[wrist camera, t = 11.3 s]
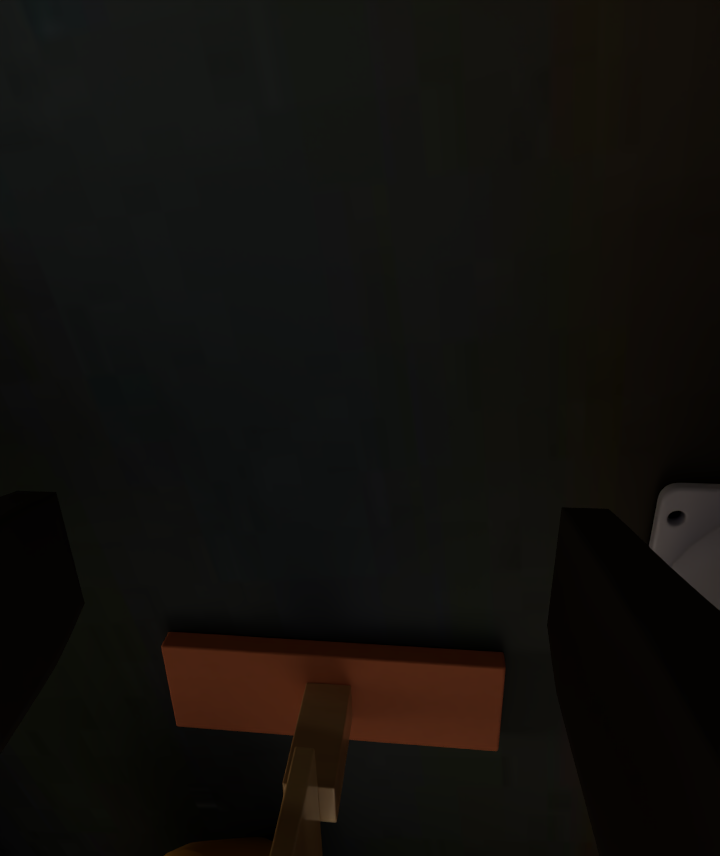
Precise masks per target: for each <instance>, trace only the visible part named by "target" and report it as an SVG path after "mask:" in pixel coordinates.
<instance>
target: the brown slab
mask: <svg viewBox="0 0 720 856" xmlns="http://www.w3.org/2000/svg"><path fill="white" fill-rule="evenodd" d="M351 724H352V696H351V686H349V685H335V684H320V683H306V686H305V691H304V695H303V699H302V703H301V707H300V712H299V716H298V720H297V724H296V728H295V733H294V737H293V741H292V745H291V749H290V754H289V758H288V762H287V766H286V770H285V775H284V779H283V783H282V784H283V793H284V796H283V800H282V804H281V808H280V813H279V817H278V821H277V826H276V830H275V834H274V839H273V843H272V847H271V851H270V856H323V853H322V840H321V826H320V821H324V822H337V817H338V811H339V804H340V797H341V791H342V784H343V777H344V771H345V764H346V757H347V751H348V744H349V737H350V731H351Z"/></svg>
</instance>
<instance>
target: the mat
mask: <svg viewBox="0 0 720 856" xmlns="http://www.w3.org/2000/svg"><path fill="white" fill-rule="evenodd" d="M161 648H162V653H163V658H164V663H165V668H166V673H167V679H168V684H169V689H170V694H171V699H172V704H173V710H174V715H175V720H176V725H177V726H180V727H193V728H205V729H218V730H231V731H244V732H257V733H270V734H283V735H294V733H295V728H296V724H297V720H298V716H299V712H300V707H301V703H302V699H303V695H304V691H305V686H306V683H320V684H335V685H349V686H351V696H352V724H351V731H350V737H349V740H360V741H373V742H386V743H399V744H411V745H424V746H437V747H450V748H463V749H476V750H489V751H497V750H498V747H499V736H500V725H501V714H502V703H503V691H504V680H505V669H506V668H505V659H504V653H503V652H493V651H477V650H461V649H445V648H428V647H412V646H396V645H380V644H364V643H347V642H331V641H315V640H299V639H283V638H266V637H250V636H234V635H218V634H202V633H185V632H168V634H167V636H166V638H165V640H164V642H163V644H162V646H161Z"/></svg>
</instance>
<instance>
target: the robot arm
mask: <svg viewBox="0 0 720 856" xmlns="http://www.w3.org/2000/svg"><path fill="white" fill-rule="evenodd" d="M673 511H682V512H681V514H680V516H678V517H676V518H672V519H670V518H667V517H668V515H669V514H670V513H672V512H673ZM83 606H84V599H83V596H82V592H81V588H80V584H79V580H78V576H77V572H76V568H75V564H74V560H73V557H72V553H71V549H70V545H69V541H68V537H67V533H66V529H65V525H64V522H63V518H62V514H61V510H60V506H59V502H58V498H57V494H56V492H28V491H16V492H13V493H10V494H7V495H5V496H2V497H0V754H1V752H2V750H3V749H4V747H5V746H6V744H7V743H8V741H9V740H10V738H11V736H12V735H13V733H14V732H15V730H16V729H17V727H18V726H19V724H20V722H21V721H22V719H23V718H24V716H25V715H26V713H27V711H28V710H29V708H30V707H31V705H32V703H33V702H34V700H35V699H36V697H37V695H38V694H39V692H40V691H41V689H42V688H43V686H44V684H45V683H46V681H47V680H48V678H49V676H50V675H51V673H52V671H53V670H54V668H55V666H56V665H57V663H58V660H59V658H60V656H61V654H62V652H63V650H64V648H65V646H66V644H67V642H68V640H69V638H70V636H71V633H72V631H73V629H74V626H75V624H76V622H77V619H78V617H79V615H80V613H81V610H82V608H83ZM547 626H548V634H549V642H550V649H551V657H552V665H553V671H554V678H555V685H556V692H557V696H558V700H559V704H560V708H561V712H562V716H563V720H564V723H565V727H566V731H567V735H568V739H569V743H570V746H571V750H572V754H573V758H574V762H575V765H576V769H577V773H578V776H579V780H580V784H581V788H582V791H583V795H584V799H585V803H586V806H587V810H588V814H589V818H590V821H591V825H592V829H593V833H594V836H595V840H596V844H597V848H598V851H599V855H600V856H720V484H708V483H672V484H670V485H668V486H665V487H664V488H663V489H662V490H661V491H660V494H659V496H658V500H657V506H656V511H655V516H654V521H653V527H652V532H651V537H650V542H649V546H648V545H647V544H646V543H645V542H644V541H642V540H641V539H640V538H639V537H638V536H637V535H636V534H635V533H634V532H633V531H632V530H631V529H630V528H629V527H628V526H627V525H626V524H624V523H623V522H622V521H621V520H620V519H619V518H618V517H617V516H616V515H615V514H613V513H612V512H611V511H610V510H609V509H592V508H562V510H561V518H560V526H559V534H558V542H557V551H556V559H555V567H554V575H553V583H552V591H551V599H550V607H549V615H548V623H547Z"/></svg>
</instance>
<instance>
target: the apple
mask: <svg viewBox="0 0 720 856" xmlns="http://www.w3.org/2000/svg"><path fill="white" fill-rule="evenodd" d="M272 843H273V841H271V840H269V839H267V838H264V837H244V838H232V839H220V840H208V841H199V842H193V843H189V844H186V845H184V846H182V847H180V848H177V849H175V850H173V851H171V852H168V853H167V854H165V855H164V856H270V851H271V847H272Z"/></svg>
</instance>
